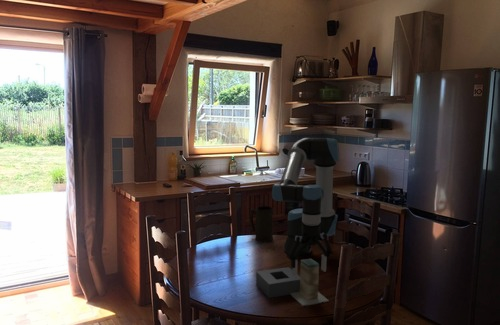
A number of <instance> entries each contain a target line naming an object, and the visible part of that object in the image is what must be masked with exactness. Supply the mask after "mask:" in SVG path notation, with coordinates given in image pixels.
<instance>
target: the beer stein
mask: <svg viewBox="0 0 500 325" xmlns="http://www.w3.org/2000/svg"><path fill="white" fill-rule="evenodd" d="M273 213H274V209H273V207H272V206H266V205H265V206H258V207H256V210H255V209H254V208H251V209H250V214H249V219H248V220H249V224H250V227H251V228H250V229H251V230H250V233H252V234H253V233H255V241H257V242H259V243H271V242H272V241H274V233H273V232H274V228H273V227H274V225H273V222H274V218H273V215H274V214H273ZM254 215H255V225H254V220H253V219H254Z"/></svg>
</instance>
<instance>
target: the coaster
mask: <svg viewBox="0 0 500 325" xmlns="http://www.w3.org/2000/svg"><path fill="white" fill-rule="evenodd" d="M290 296H291V297H292V298H293V299H295V300H296V301H297V303H299V304H300V305H301V306H302V307H304V306H311V305H317V304H321V303H322V302H323V303H327V302H328V303H329V299H328V298H326V296H324V295H323V294H321V293H320V291H318V299H313V300H306V299H305V298H304V297H303V296H302V295H300V292H295V293H290ZM323 303H322V304H323Z"/></svg>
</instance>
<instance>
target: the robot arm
mask: <svg viewBox="0 0 500 325" xmlns="http://www.w3.org/2000/svg"><path fill="white" fill-rule="evenodd" d="M306 161H313V166H314V167H315V168H316V170H315V184H307V185H300V184H298V182H299V179H300V174H301V172H302V168H303V165H304V163H305V162H306ZM339 161H340V148H339V142H338V140H337V139H335V138H330V137H303V138H300V139H298V140H297V141H296V142H294V143H293V144H292V145H291V146H290V148H289V149H288V152H287V161H286V164H285V168H284V170H283V173H282V176H281V179H280V182H278V183H274V184H273V185H272V190H271V196H272V200H274V201H276V202H277V201H278V202H285V203H286V202H288V203H302V208H295V209H292V210H290V211H288V214H287V236H286V239H285V242H284V245H283V251H284V252H285V253H286V254H287V255H286V258H287V259H288V260H290V266H291V269H292V270H293V273H292V274H293V275H295V276H297V274H298V264H299V263H298V258H299V256H306V255H309V254H311V252H312V246H316V247H317V248H318V249H319V250H320V251H321V252H322V254H321V262H320V263H321V264H320V265H321V266H320V270H321V271H322V272H327V264H328V263H329V258H330V256H331V255H333V249H332V247H331V244H330V243H329V241H328V237H329V236H330V237H331V236H334V235H335V233H336V227H337V221H338V214H336V211H335V210H334V208H333V190H334V188H333V187H334V186H333V184H334V168H335V167H336V166H337V163H338V162H339ZM327 236H328V237H327ZM320 239H321V240H322V242H323V245H324V246H323V245H322V243H321V241H319V240H320Z"/></svg>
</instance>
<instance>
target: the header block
mask: <svg viewBox="0 0 500 325" xmlns="http://www.w3.org/2000/svg"><path fill="white" fill-rule="evenodd" d="M292 273H293V268H290V267H288V266H287V267H281V268H273V269H272V268H271V269H265V270H258V271H257V270H256V275H255V276H256V277H255V278H256V280H255V281H256V286H257V287H258V288H259V289H260V291H262V292H263V293H264V295H266V296H267V298H268V299H270V298H276V297H283V296H288V295H290V293H295V292H300V274H298V273H297V276H295V275H293V274H292ZM290 296H291V295H290Z"/></svg>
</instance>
